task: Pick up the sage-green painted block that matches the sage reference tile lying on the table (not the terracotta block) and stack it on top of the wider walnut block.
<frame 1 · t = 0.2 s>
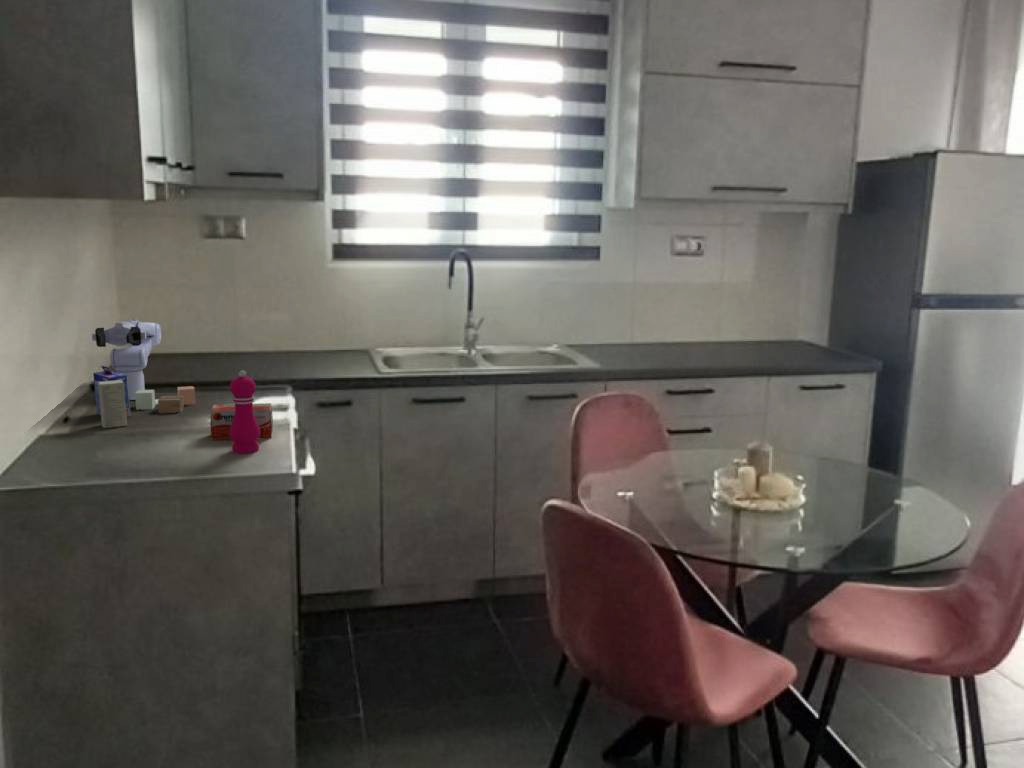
hand: (113, 339, 248), 21 cm above the counter, tool horizontal, fingers open, 7 cm apart
skincare box: (114, 426, 236), on the counter
pepper mill: (245, 451, 213), on the counter
clay block: (186, 404, 264), on the counter
medicine box: (242, 437, 228), on the counter
sage block: (145, 407, 258), on the counter
ink cartridge box: (113, 416, 247), on the counter
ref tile: (153, 402, 264), on the counter
base block: (171, 411, 254), on the counter
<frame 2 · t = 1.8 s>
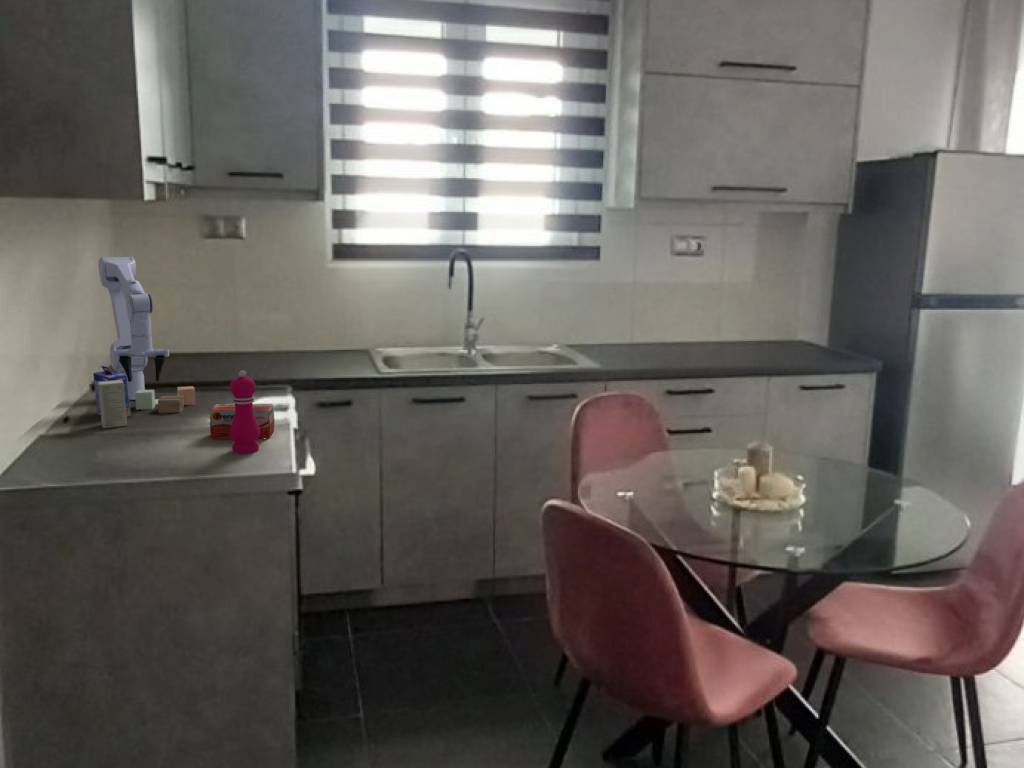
hand: (144, 380, 256), 8 cm above the counter, tool pointing down, fingers open, 7 cm apart
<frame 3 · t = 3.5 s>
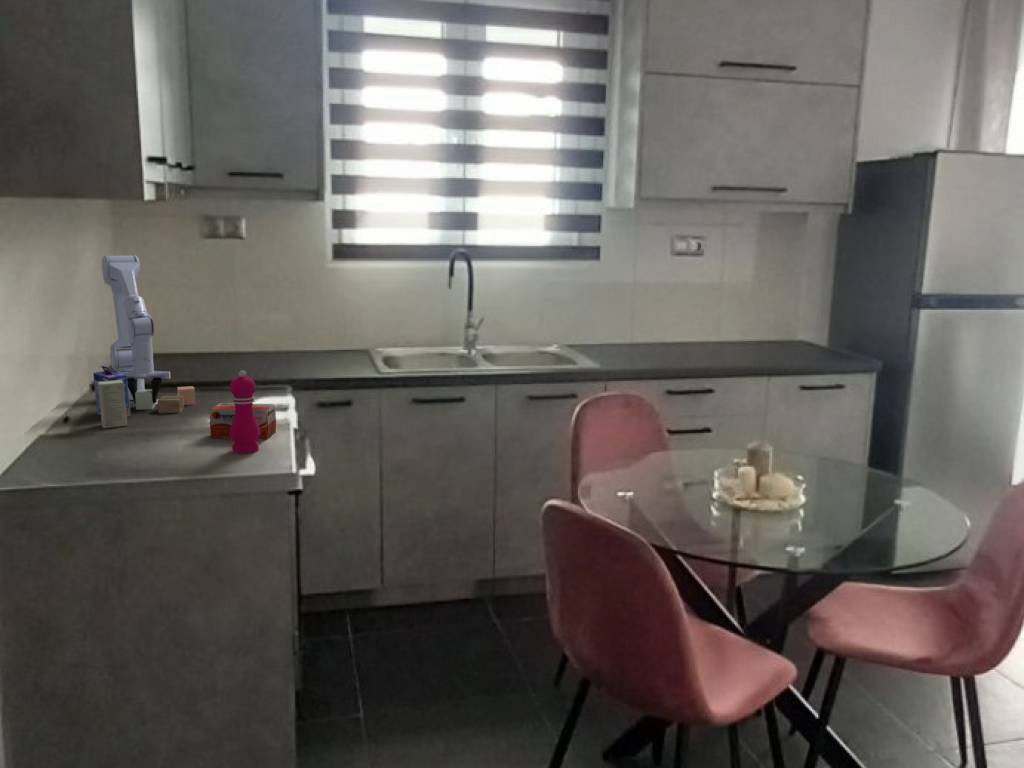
hand: (145, 402, 257), 1 cm above the counter, tool pointing down, fingers closed on sage block, 4 cm apart
sage block: (145, 407, 257), on the counter, touching gripper
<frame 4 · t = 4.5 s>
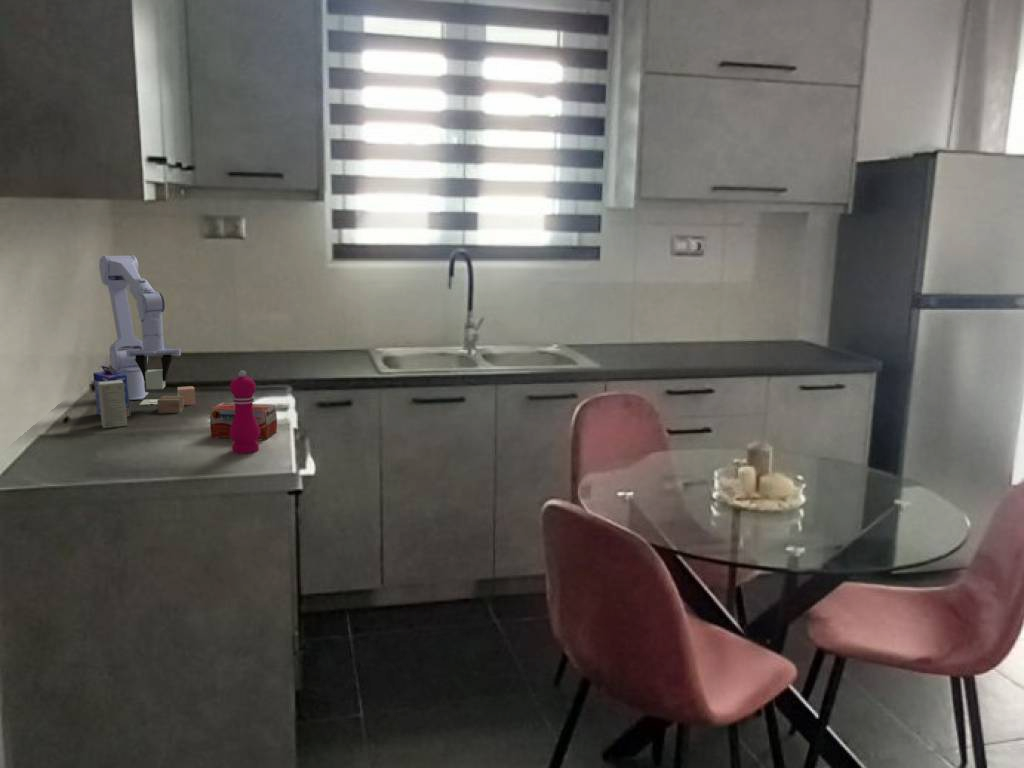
hand: (155, 380, 254), 9 cm above the counter, tool pointing down, fingers closed on sage block, 4 cm apart
sage block: (155, 387, 255), point 6 cm above the counter, touching gripper
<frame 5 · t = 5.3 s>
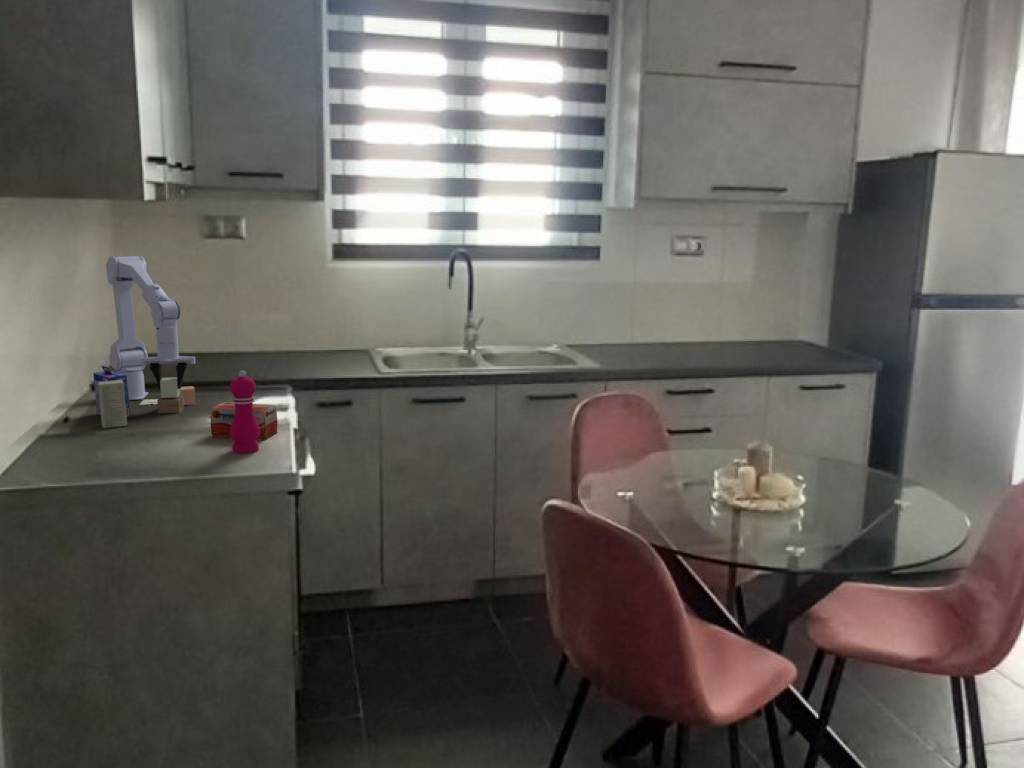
hand: (170, 388, 253), 7 cm above the counter, tool pointing down, fingers closed on sage block, 4 cm apart
sage block: (170, 395, 253), point 4 cm above the counter, touching gripper
when the fingers open (7 cm above the counter, at t = 6.0 s): sage block stays where it is, resting on base block.
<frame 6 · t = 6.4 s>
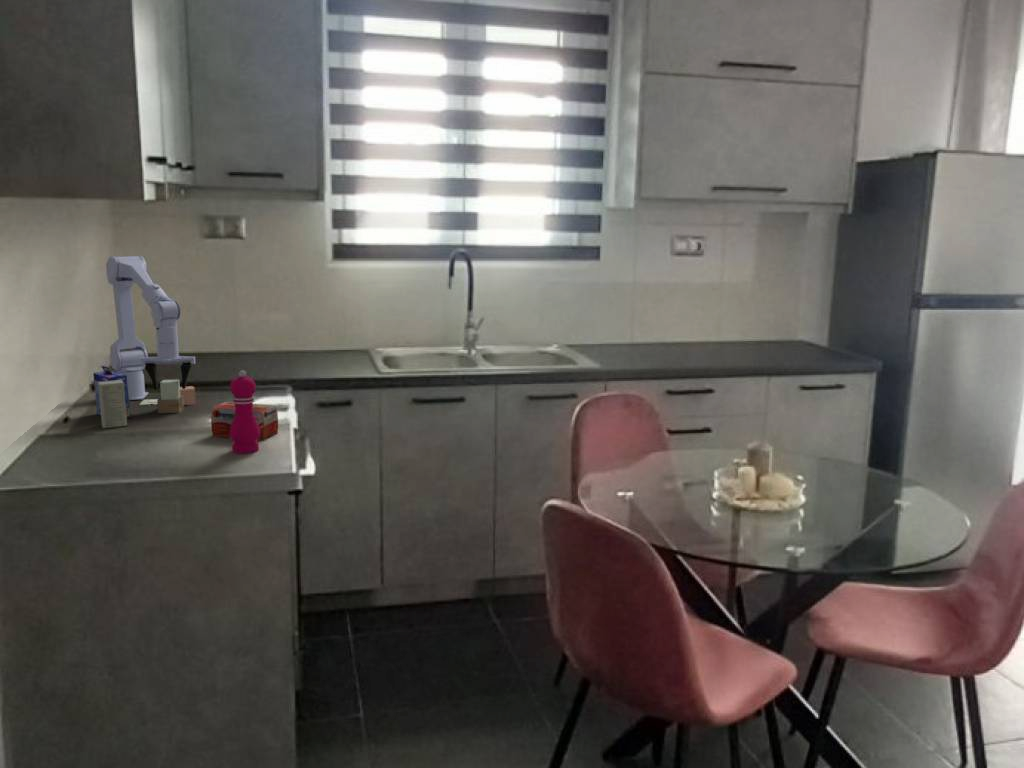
hand: (170, 388, 253), 7 cm above the counter, tool pointing down, fingers open, 7 cm apart
sage block: (170, 398, 254), point 4 cm above the counter, touching base block
base block: (171, 411, 254), on the counter, touching sage block
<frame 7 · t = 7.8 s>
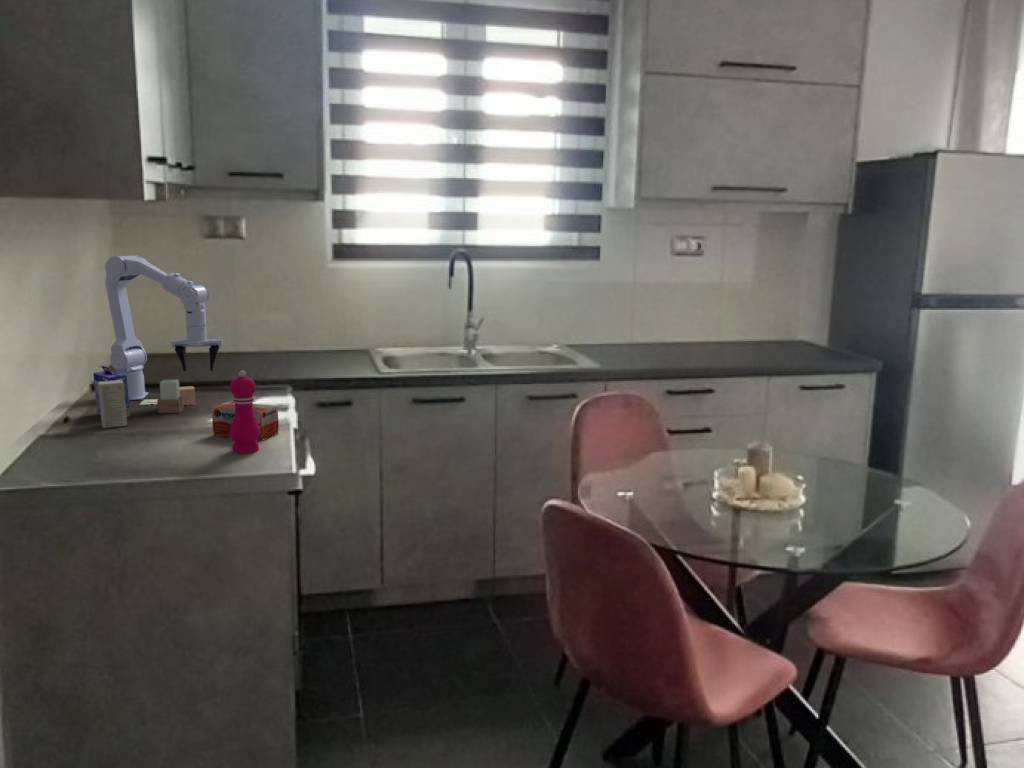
hand: (198, 370, 261), 10 cm above the counter, tool pointing down, fingers open, 7 cm apart
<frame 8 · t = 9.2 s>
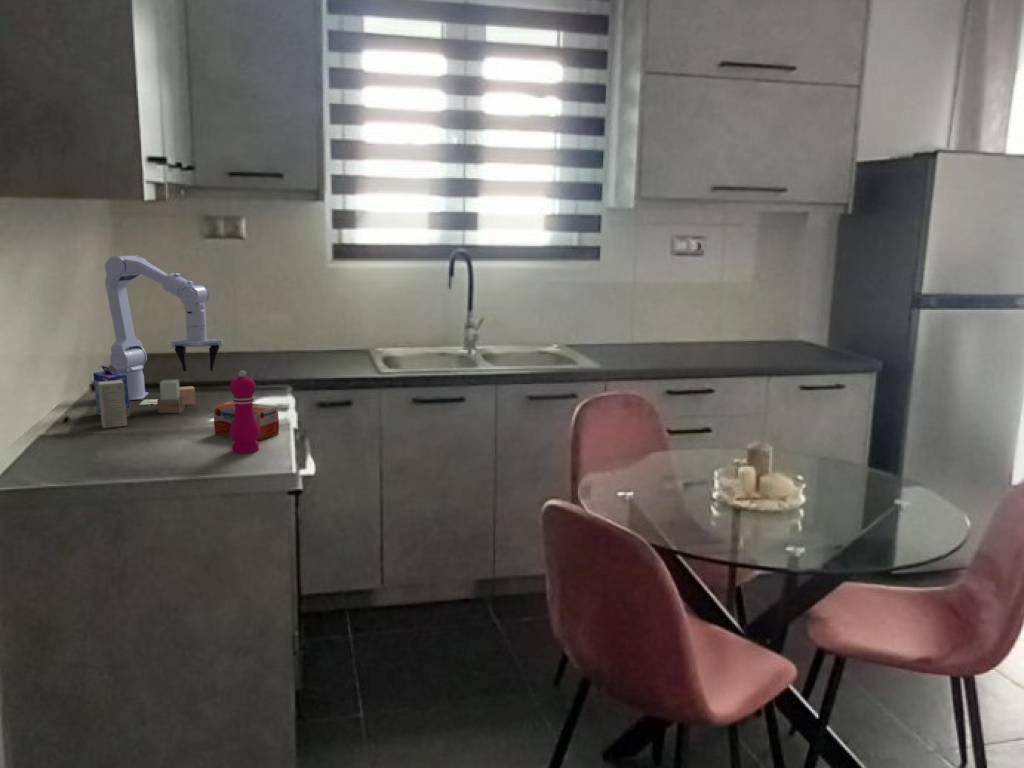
hand: (198, 370, 261), 10 cm above the counter, tool pointing down, fingers open, 7 cm apart
sage block: (170, 397, 254), point 4 cm above the counter
base block: (171, 411, 254), on the counter
at the end: sage block 0.1 cm off-centre on the base block, point 4.0 cm above the base block's base; sage block tilted 0°; clay block moved 0.1 cm from its start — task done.
